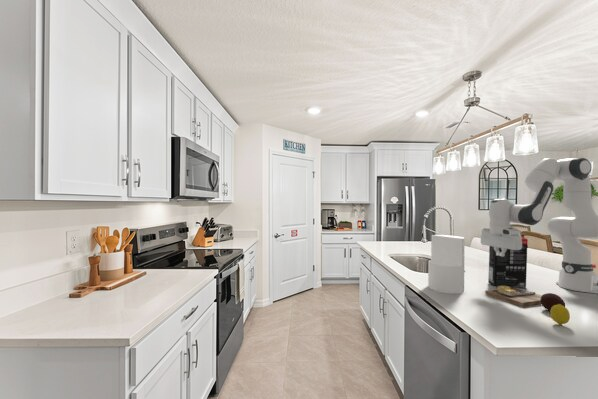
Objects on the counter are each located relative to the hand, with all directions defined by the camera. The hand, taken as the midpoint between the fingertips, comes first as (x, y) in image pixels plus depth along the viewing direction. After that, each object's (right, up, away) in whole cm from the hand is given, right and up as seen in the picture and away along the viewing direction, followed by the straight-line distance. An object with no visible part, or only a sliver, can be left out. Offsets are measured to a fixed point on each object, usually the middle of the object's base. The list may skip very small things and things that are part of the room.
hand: (500, 255), depth 149 cm
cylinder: (-26, -19, +5) cm, 32 cm away
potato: (+4, -19, -26) cm, 33 cm away
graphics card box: (+12, -19, +11) cm, 25 cm away
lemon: (-5, -19, -40) cm, 44 cm away
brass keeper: (-4, -16, -10) cm, 20 cm away
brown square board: (+2, -19, -10) cm, 21 cm away
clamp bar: (+2, -16, -11) cm, 20 cm away
